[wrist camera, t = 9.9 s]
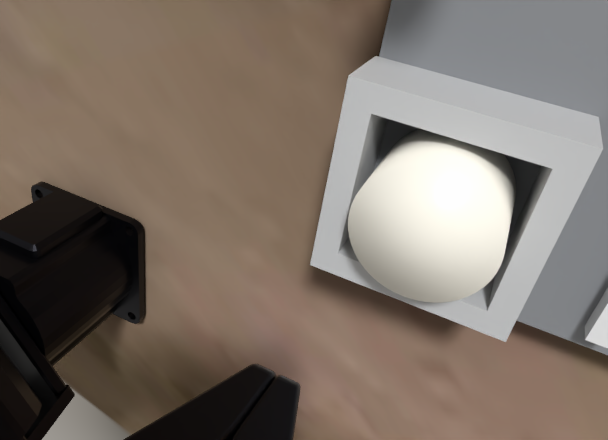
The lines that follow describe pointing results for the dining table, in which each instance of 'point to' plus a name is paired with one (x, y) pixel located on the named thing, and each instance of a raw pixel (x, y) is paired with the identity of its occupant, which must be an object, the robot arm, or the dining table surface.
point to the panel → (494, 149)
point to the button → (434, 217)
